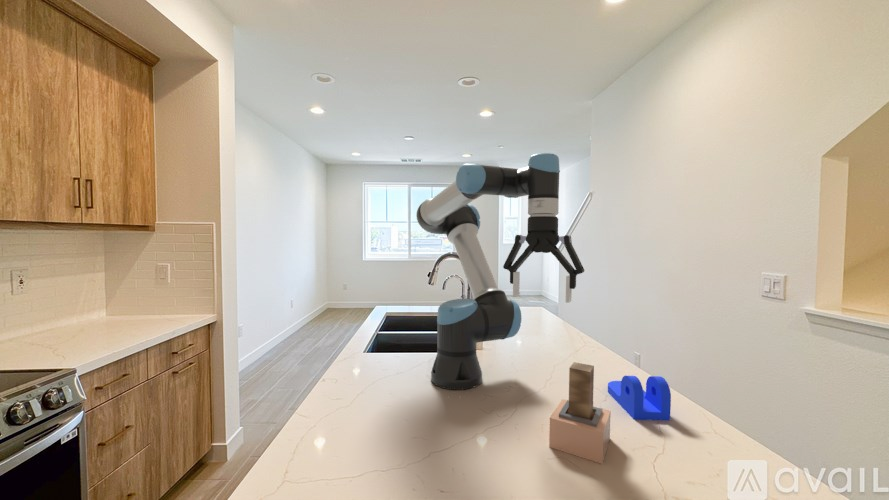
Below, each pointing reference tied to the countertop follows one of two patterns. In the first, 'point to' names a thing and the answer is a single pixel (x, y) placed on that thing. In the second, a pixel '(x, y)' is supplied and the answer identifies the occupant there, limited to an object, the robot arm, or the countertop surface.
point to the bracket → (643, 397)
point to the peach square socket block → (580, 432)
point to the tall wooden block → (581, 390)
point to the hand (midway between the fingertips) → (541, 299)
